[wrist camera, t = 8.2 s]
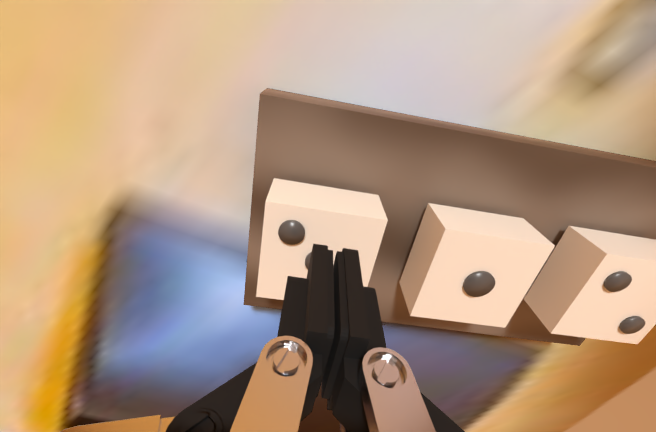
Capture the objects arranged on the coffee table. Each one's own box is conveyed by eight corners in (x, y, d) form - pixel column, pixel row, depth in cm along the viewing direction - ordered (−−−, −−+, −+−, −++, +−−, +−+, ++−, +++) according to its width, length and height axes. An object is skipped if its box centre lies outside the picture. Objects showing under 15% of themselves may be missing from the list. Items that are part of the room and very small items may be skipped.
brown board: (267, 87, 15) (260, 93, 14) (672, 164, 17) (712, 177, 16) (250, 282, 21) (243, 304, 19) (559, 322, 23) (579, 345, 21)
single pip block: (428, 202, 16) (447, 231, 13) (523, 218, 16) (557, 247, 14) (399, 282, 18) (410, 318, 16) (483, 293, 18) (507, 330, 16)
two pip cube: (568, 225, 16) (609, 255, 14) (655, 239, 17) (709, 271, 14) (523, 299, 19) (552, 336, 16) (601, 309, 19) (640, 346, 17)
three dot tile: (273, 178, 15) (264, 202, 13) (378, 194, 15) (388, 221, 13) (264, 264, 17) (255, 299, 15) (355, 276, 18) (360, 312, 15)
